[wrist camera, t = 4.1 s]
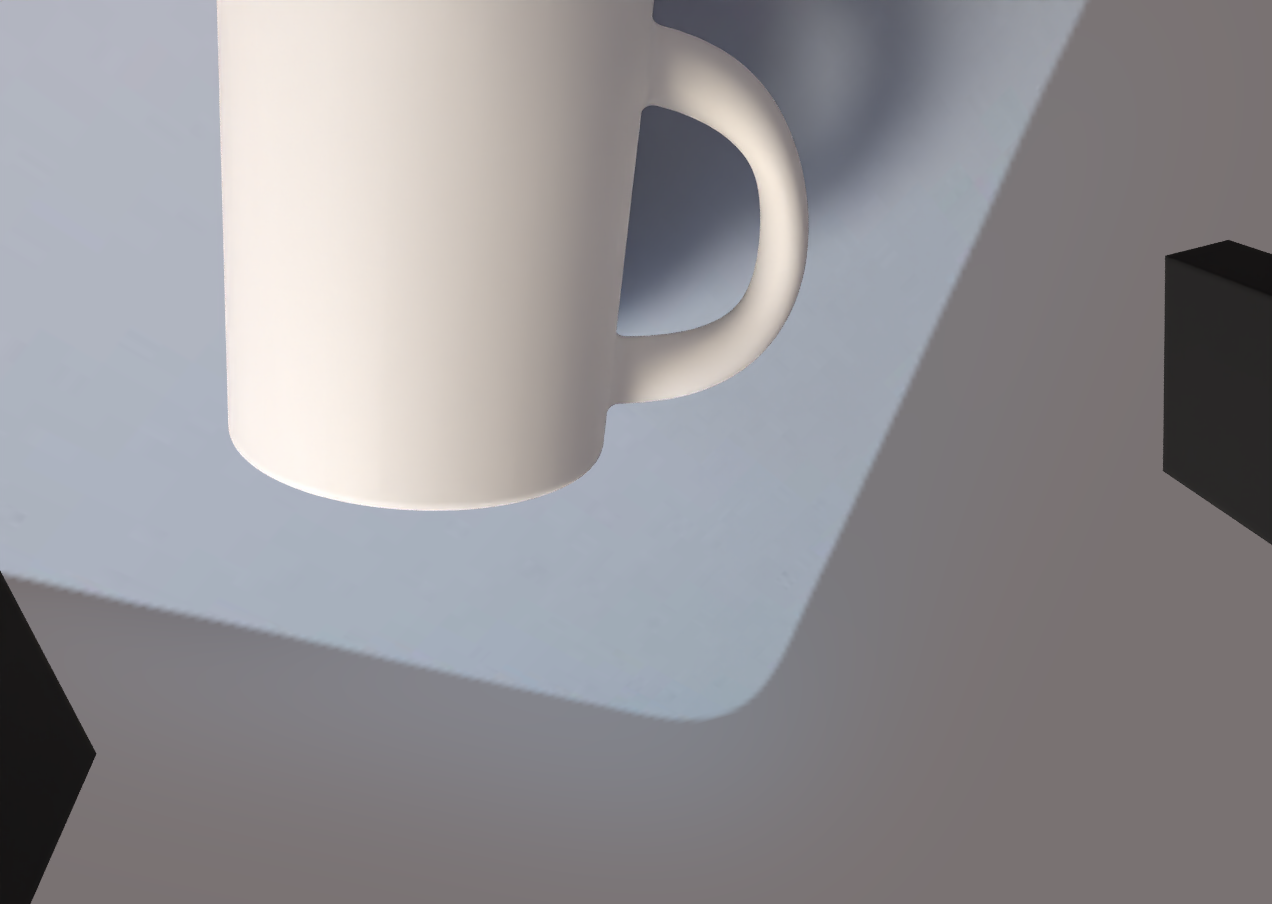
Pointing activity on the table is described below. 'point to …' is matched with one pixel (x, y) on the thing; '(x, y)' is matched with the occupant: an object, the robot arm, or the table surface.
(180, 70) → the table surface
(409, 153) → the mug
